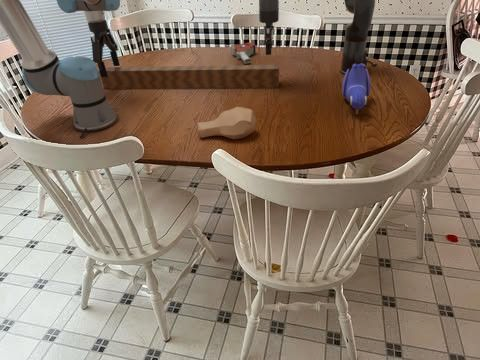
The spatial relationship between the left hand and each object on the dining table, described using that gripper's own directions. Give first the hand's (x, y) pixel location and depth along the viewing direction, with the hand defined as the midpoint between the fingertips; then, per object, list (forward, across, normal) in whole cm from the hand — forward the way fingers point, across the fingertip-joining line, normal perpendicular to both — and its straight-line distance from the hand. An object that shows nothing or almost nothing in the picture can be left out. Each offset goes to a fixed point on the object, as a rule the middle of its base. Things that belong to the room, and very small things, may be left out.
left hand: (111, 71), depth 159 cm
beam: (+7, -1, -35) cm, 36 cm away
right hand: (-7, 0, -71) cm, 71 cm away
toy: (+7, -22, -104) cm, 106 cm away
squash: (+6, -45, -59) cm, 74 cm away
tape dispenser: (+8, +38, -55) cm, 68 cm away
